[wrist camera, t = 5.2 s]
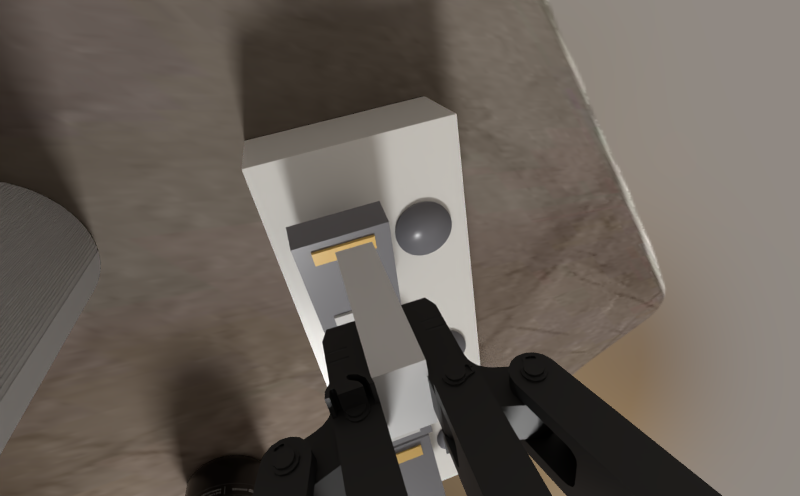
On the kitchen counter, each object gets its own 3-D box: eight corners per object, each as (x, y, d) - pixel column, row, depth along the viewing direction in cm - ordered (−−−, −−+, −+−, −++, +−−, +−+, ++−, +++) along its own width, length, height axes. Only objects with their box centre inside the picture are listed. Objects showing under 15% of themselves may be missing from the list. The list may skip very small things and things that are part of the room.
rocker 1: (319, 311, 25) (325, 336, 24) (285, 227, 20) (290, 252, 19) (393, 288, 26) (402, 310, 24) (379, 200, 21) (389, 223, 19)
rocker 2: (389, 513, 34) (393, 532, 32) (366, 443, 32) (370, 458, 31) (442, 492, 35) (449, 509, 33) (423, 422, 33) (429, 436, 31)
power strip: (363, 456, 41) (377, 517, 36) (244, 140, 24) (240, 175, 19) (467, 417, 43) (493, 470, 38) (424, 96, 26) (463, 117, 21)
